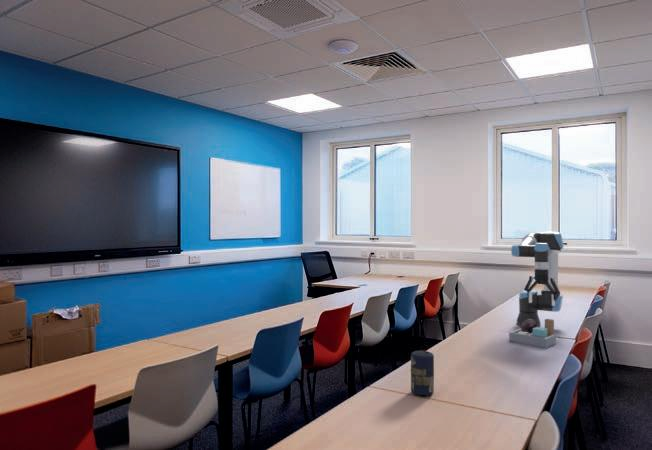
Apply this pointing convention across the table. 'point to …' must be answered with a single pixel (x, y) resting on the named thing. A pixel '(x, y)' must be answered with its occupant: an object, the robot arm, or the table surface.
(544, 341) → the lane rack
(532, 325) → the rock
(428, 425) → the table surface
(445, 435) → the table surface
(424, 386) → the canister
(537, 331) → the block
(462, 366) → the table surface
